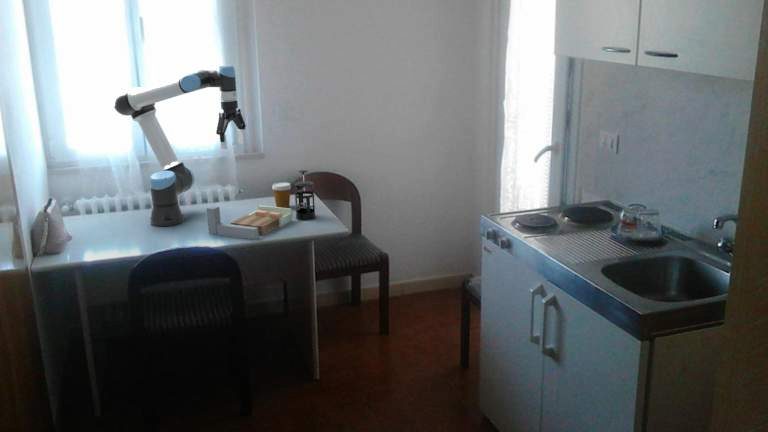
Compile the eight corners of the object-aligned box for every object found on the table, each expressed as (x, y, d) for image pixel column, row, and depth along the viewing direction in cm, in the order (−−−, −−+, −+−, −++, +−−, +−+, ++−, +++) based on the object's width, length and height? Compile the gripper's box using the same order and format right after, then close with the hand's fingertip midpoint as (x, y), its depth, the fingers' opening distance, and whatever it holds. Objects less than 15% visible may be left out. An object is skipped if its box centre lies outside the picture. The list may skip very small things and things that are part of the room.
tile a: (255, 211, 333) (258, 209, 335) (255, 221, 334) (259, 220, 337) (264, 212, 331) (267, 211, 333) (264, 223, 332) (268, 221, 335)
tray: (248, 223, 335) (247, 210, 333) (259, 217, 344) (259, 205, 342) (281, 227, 328) (280, 214, 326) (292, 220, 337) (291, 208, 335)
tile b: (268, 213, 329) (272, 211, 332) (269, 223, 331) (273, 222, 334) (278, 214, 328) (281, 212, 330) (279, 225, 329) (282, 223, 332)
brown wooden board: (231, 231, 324) (230, 222, 322) (247, 223, 335) (246, 214, 334) (263, 235, 317) (262, 226, 316) (278, 226, 328) (278, 218, 327)
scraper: (208, 233, 321) (206, 208, 317) (214, 231, 324) (211, 205, 321) (254, 239, 312) (252, 213, 308) (259, 236, 315) (257, 210, 312)
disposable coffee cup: (291, 210, 354) (289, 186, 350) (271, 210, 354) (270, 187, 351) (293, 204, 363) (292, 181, 360) (274, 205, 363) (273, 182, 360)
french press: (319, 219, 339) (316, 171, 332) (300, 222, 335) (297, 174, 328) (310, 212, 349) (307, 166, 342) (291, 215, 345) (289, 169, 338)
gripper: (219, 104, 316) (223, 151, 322) (251, 97, 338) (254, 141, 344) (205, 103, 319) (209, 150, 325) (237, 96, 341) (241, 140, 347)
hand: (232, 145), depth 335 cm, fingers open, 13 cm apart
